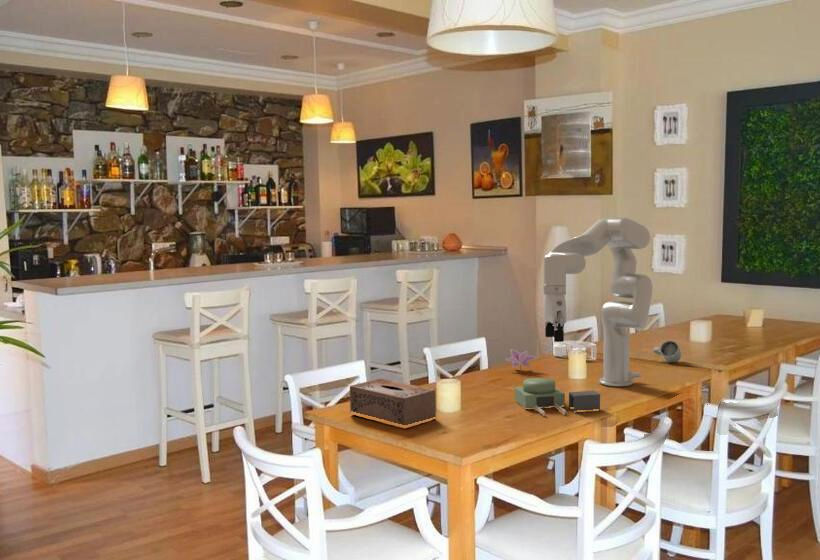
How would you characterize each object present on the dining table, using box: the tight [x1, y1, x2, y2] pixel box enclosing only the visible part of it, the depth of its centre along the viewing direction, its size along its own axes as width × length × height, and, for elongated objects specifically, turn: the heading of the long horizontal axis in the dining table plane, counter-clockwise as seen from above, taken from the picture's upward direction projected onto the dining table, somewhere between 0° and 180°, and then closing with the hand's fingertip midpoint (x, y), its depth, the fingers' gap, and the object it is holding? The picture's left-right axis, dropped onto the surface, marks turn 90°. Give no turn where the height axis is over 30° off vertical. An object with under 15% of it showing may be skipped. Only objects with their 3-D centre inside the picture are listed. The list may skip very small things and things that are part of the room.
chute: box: [568, 390, 601, 412], centre depth 255 cm, size 5×9×6 cm, turn 99°
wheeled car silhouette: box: [552, 340, 597, 361], centre depth 338 cm, size 20×11×7 cm, turn 39°
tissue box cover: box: [349, 377, 437, 425], centre depth 252 cm, size 26×14×10 cm, turn 46°
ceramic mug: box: [653, 340, 682, 364], centre depth 326 cm, size 11×8×8 cm
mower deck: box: [514, 377, 567, 415], centre depth 259 cm, size 14×21×8 cm, turn 9°
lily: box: [505, 348, 538, 374], centre depth 315 cm, size 12×12×10 cm
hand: (554, 339), depth 262 cm, fingers open, 9 cm apart
